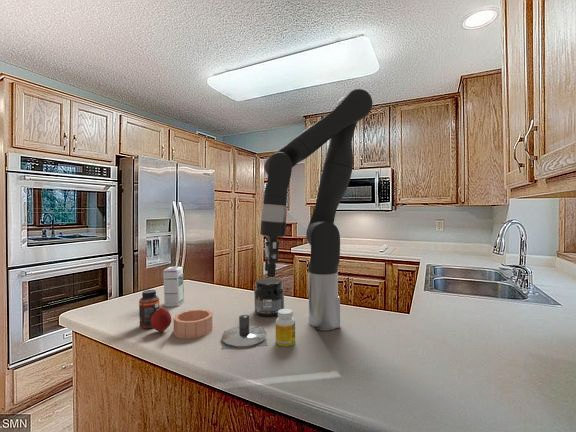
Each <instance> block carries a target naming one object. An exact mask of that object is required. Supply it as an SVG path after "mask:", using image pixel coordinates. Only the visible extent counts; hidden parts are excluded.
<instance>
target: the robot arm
mask: <svg viewBox="0 0 576 432" xmlns="http://www.w3.org/2000/svg"><path fill="white" fill-rule="evenodd" d="M372 109H373V99H372V96H371V94H370V93H369V92H368V91H367V90H365V89H362V88H357V89H353V90H350V91H348V92H347V93H346V94H344V95H343V96H342V97H341V98H340V99H339V100H338V101H337V104H336V106H335V108H334V109H333V110H332V111H330V113H329V112H328V114H327V115H324V117H322V118H321V119H319V120H318V121H317V122H315V123H313V124H312V125H310V126H308V127H307V128H305V130H303V131H302V132H301V133H299V134H298V135H297V136H295V137H294V138H293V139H291V140H290V141H289V142H288V143H287V145H285V146H284V147H282V148H280V149H279V150H278V151H276V152H274V153H273V154H271V155H270V156H268V158H267V159H266V161H265V163H264V170H265V173H266V174H267V180H266V181H267V182H266V186H265V187H264V192H263V201H262V202H263V203H262V209H261V218H260V219H261V220H260V229H259V230H260V232H259V233H260V235H261V236H264V237H266V238H265V241H264V257H265V258H264V259H265V262H264V271H265V272H267V274H266V275H267V276H266V277H267V278H275V277H276V269H277V264H278V263H279V250H280V242H279V241H278V238H283V237H285V236H286V227H287V216H288V212H287V208H288V207H287V206H288V190H289V185H290V182H291V181H290V180H291V176H292V172H293V171H292V169H293V168H294V167H295V166H296V165H297V164H298V163H300V162H302V161H304V160H306V159H307V158H309V157H310V156H311V155H313V154H314V153H316V151H317V150H319V149H320V148H321V147H322V146H323V145H325V144H326V143H327V142H328V141H329V144H328V147H327V151H326V156H325V160H324V162H323V166H322V171H321V176H320V180H319V185H318V190H317V196H316V199H315V200H316V201H315V205H314V208H313V211H312V214H311V217H310V220H309V223H308V226H307V228H306V240H307V242H308V244H309V245H310V260H309V262H308V266H307V268H308V324H309V325H310V326H312V327H313V328H314V329H315V330H316V331H325V332H326V331H333V330H335V329H338V328H339V329H340V328H341V297H340V296H339V285H338V284H339V279H338V278H339V275H338V274H339V272H338V271H339V270H338V269H339V264H340V260H341V258H340V257H341V234H340V231H339V228H338V227H337V226H336V224H335V223H334V222H335V218H336V215H337V209H338V207H339V205H340V203H341V201H342V199H343V197H344V195H345V194H346V191H347V189H348V188H349V184H350V180H351V178H352V177H351V176H352V174H353V168H354V153H353V152H354V151H353V137H354V134H355V130H356V127H357V124H358V122H360V121H361V120H363V119H365V118H366V117H367V116H368V115H369V114H370V112H371V111H372Z"/></svg>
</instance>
